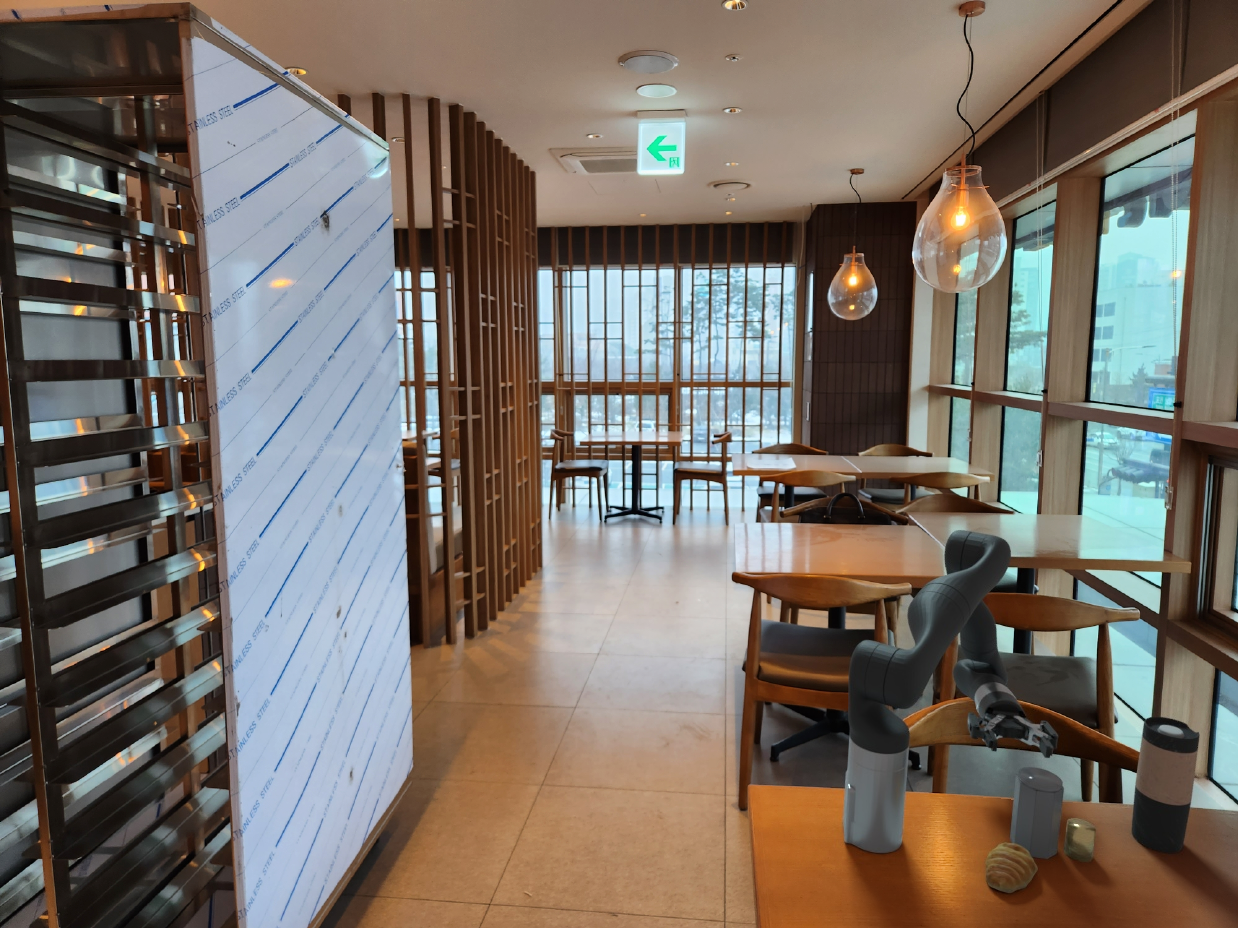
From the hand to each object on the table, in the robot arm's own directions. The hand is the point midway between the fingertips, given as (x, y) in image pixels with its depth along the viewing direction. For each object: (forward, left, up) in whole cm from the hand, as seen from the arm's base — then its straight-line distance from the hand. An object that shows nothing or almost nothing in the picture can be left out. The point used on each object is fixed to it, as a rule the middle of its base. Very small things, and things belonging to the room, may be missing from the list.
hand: (1021, 749), depth 138 cm
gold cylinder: (+7, -11, -11) cm, 17 cm away
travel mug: (+21, -4, -12) cm, 24 cm away
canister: (0, -10, -11) cm, 15 cm away
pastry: (-5, -19, -12) cm, 23 cm away
